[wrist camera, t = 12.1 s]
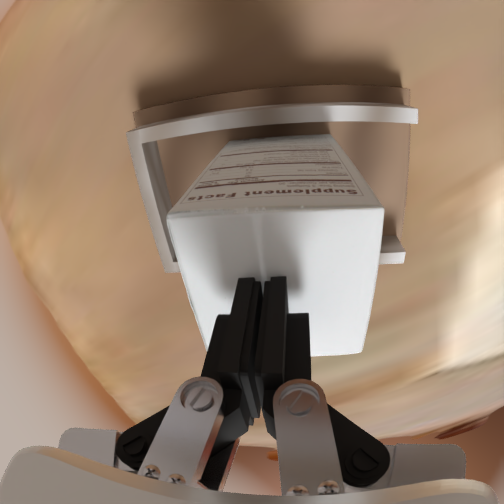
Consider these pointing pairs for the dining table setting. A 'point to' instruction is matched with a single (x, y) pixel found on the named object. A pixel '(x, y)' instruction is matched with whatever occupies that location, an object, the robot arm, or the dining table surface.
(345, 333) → the supplement box
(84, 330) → the dining table surface
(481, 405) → the dining table surface
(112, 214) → the dining table surface
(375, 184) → the board
